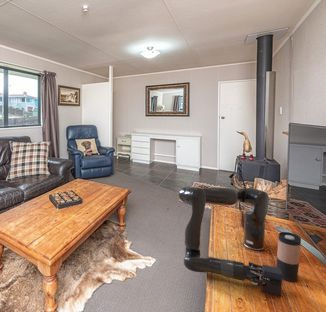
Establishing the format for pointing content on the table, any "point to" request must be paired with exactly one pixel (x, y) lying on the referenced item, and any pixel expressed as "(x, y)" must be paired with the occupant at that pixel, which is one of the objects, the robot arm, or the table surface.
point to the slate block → (273, 274)
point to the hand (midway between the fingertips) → (279, 279)
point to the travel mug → (288, 255)
